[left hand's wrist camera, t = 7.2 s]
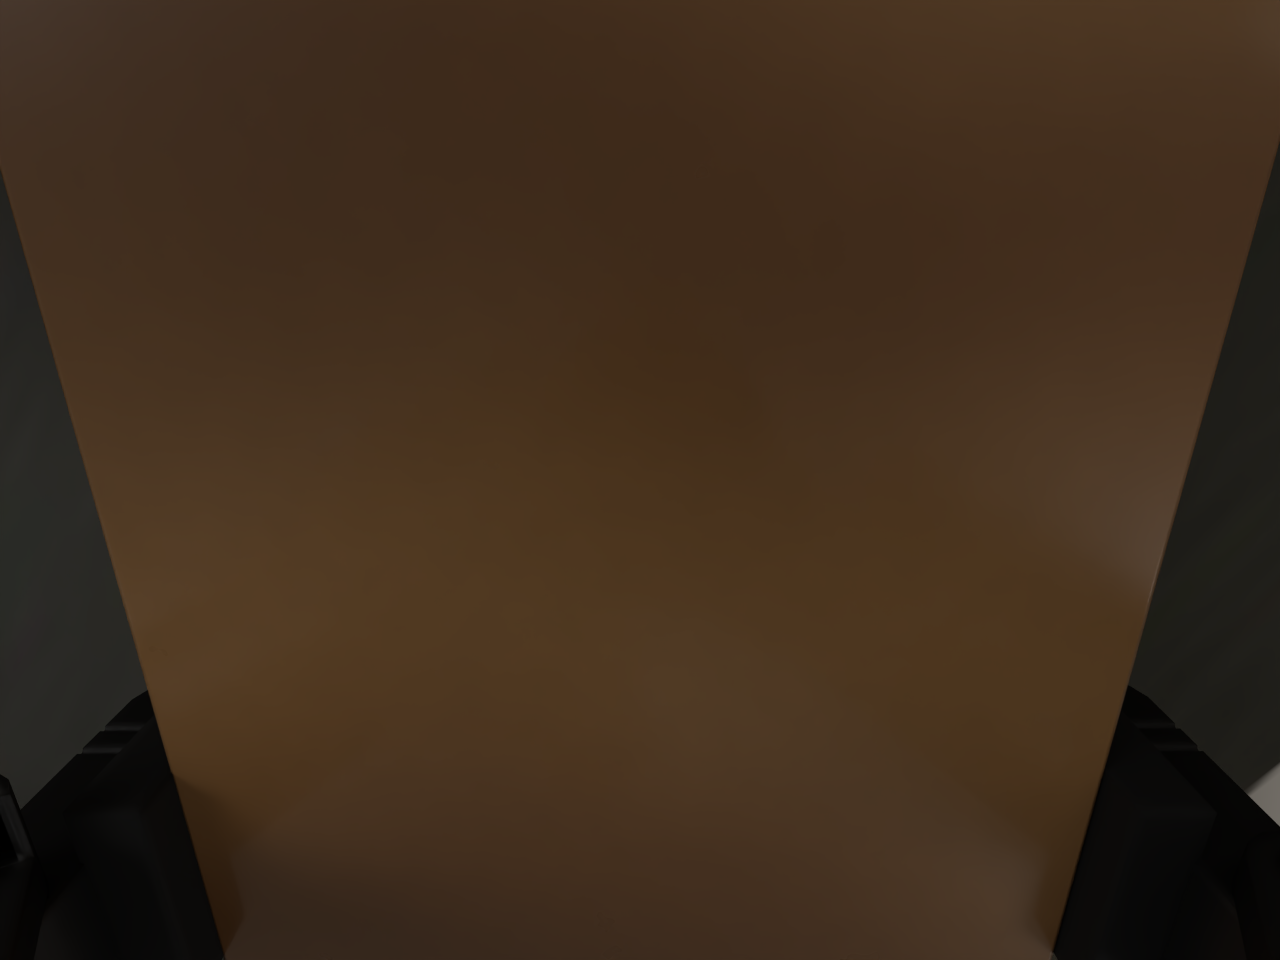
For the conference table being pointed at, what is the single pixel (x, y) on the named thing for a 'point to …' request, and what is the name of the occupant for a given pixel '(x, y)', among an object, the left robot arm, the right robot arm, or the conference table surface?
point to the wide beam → (637, 443)
